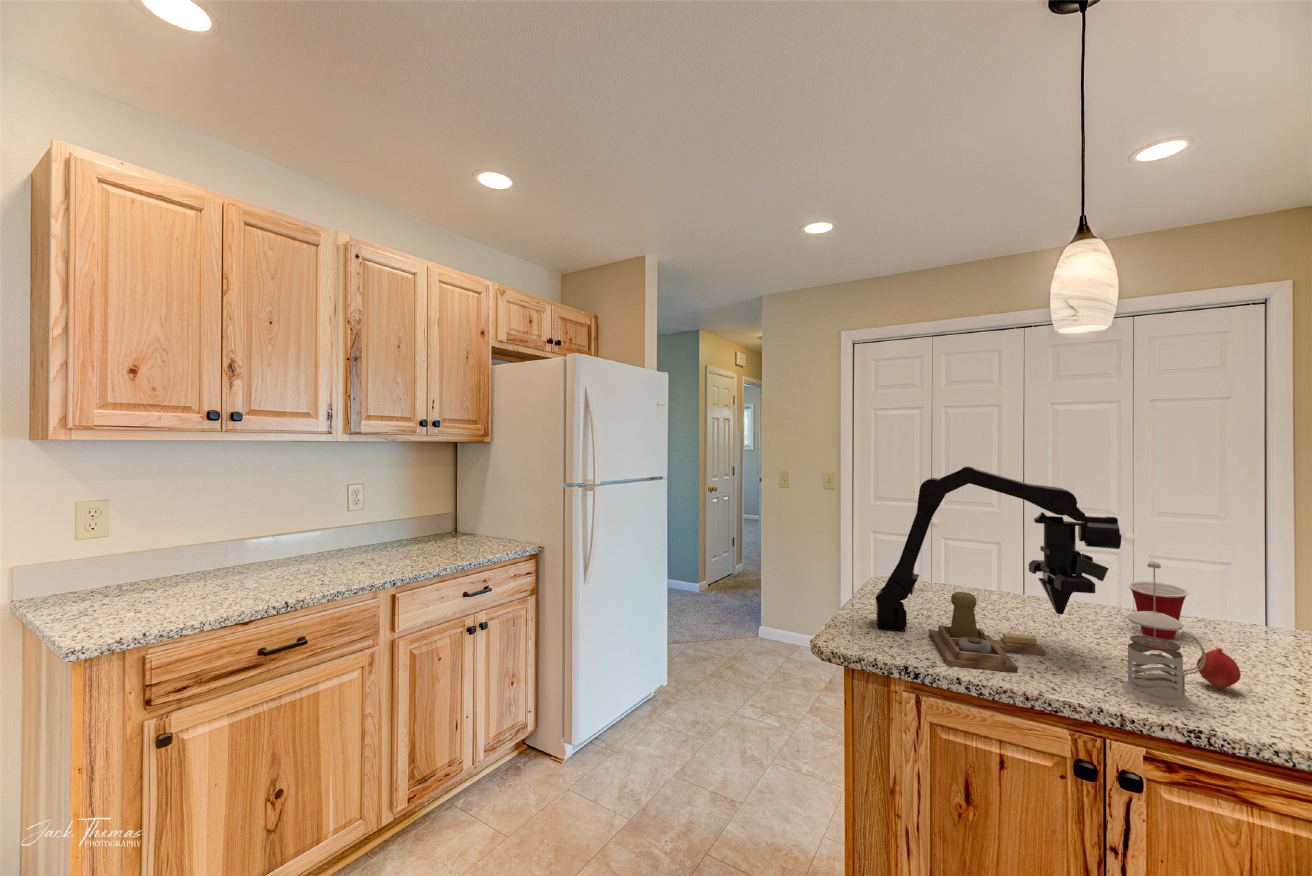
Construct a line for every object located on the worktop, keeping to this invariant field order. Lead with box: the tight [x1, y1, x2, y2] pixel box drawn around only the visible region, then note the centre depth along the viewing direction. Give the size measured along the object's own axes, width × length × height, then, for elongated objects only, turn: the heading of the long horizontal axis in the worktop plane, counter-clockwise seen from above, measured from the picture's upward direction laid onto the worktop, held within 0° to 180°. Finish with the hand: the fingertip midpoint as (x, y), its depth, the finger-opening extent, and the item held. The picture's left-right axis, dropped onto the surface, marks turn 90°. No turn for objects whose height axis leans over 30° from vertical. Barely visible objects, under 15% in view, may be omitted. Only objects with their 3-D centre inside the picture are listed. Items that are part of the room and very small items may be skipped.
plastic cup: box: [1128, 581, 1189, 641], centre depth 132 cm, size 11×11×12 cm
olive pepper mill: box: [950, 591, 978, 638], centre depth 126 cm, size 6×6×11 cm
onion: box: [1196, 647, 1242, 690], centre depth 104 cm, size 6×6×8 cm
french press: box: [1120, 560, 1206, 707], centre depth 102 cm, size 10×12×25 cm
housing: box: [928, 624, 1046, 674], centre depth 121 cm, size 22×19×4 cm
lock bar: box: [1002, 632, 1038, 646], centre depth 123 cm, size 6×2×2 cm, turn 74°
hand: (1059, 613), depth 121 cm, fingers closed
